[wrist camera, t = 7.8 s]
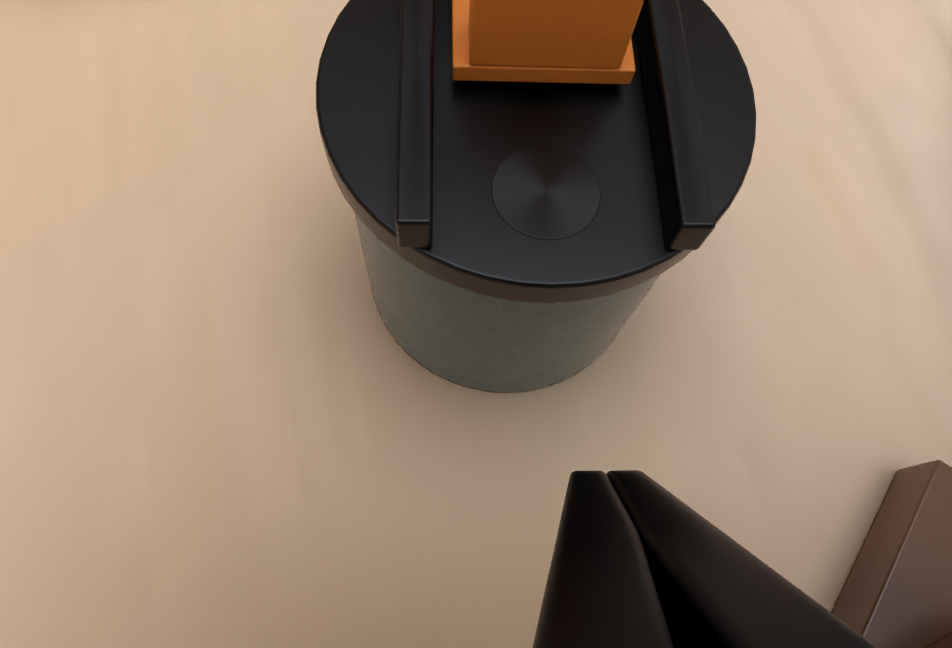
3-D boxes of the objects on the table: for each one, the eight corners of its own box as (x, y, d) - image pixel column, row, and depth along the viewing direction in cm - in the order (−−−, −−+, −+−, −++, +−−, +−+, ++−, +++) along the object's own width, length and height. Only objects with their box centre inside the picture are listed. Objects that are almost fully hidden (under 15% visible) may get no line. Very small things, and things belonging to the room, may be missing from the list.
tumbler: (656, 402, 19) (823, 265, 11) (353, 404, 19) (287, 261, 10) (627, 149, 22) (739, -107, 14) (365, 145, 22) (321, -124, 14)
